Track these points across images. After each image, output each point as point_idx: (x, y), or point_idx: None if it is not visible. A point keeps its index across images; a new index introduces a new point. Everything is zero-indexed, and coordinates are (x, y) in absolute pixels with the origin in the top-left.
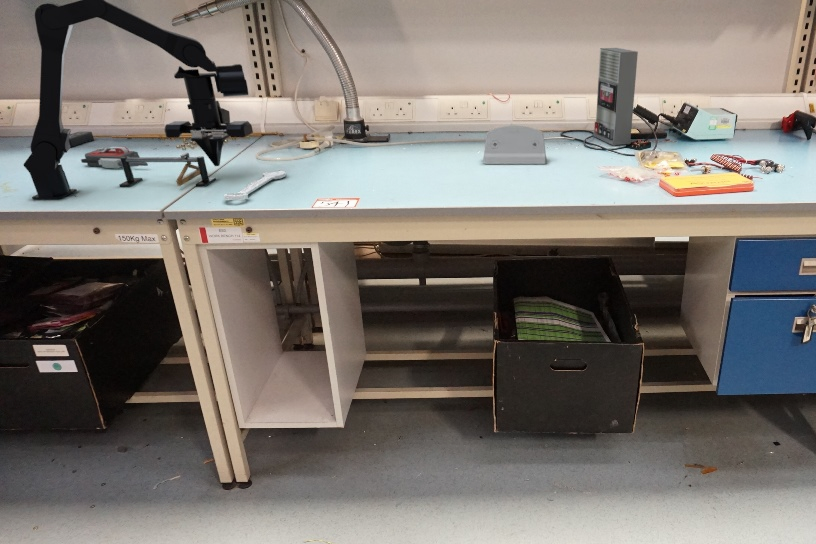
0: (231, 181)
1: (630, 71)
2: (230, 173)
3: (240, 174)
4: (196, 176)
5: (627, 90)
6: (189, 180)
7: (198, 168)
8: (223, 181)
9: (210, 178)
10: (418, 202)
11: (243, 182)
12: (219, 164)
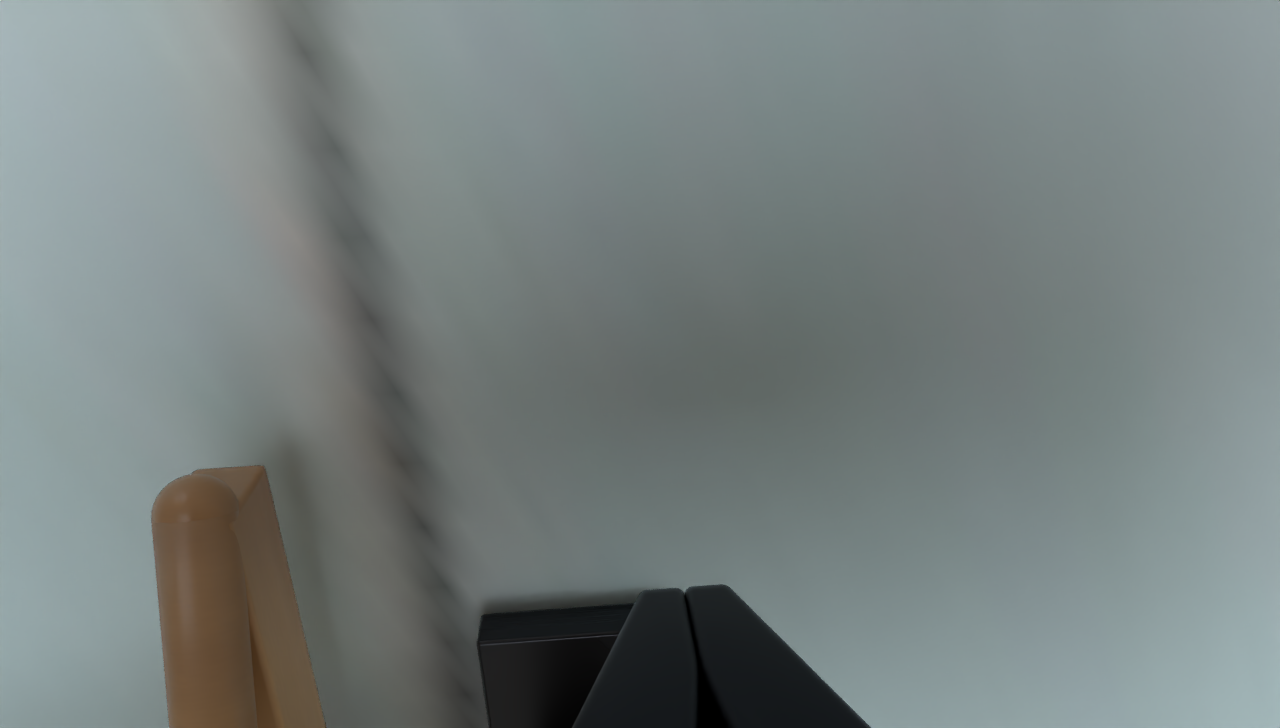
0: (958, 651)
1: None
2: (723, 110)
3: (982, 189)
4: (324, 723)
5: None
6: None
7: (254, 683)
8: (821, 659)
9: None
10: None
11: (1173, 686)
12: (731, 602)
